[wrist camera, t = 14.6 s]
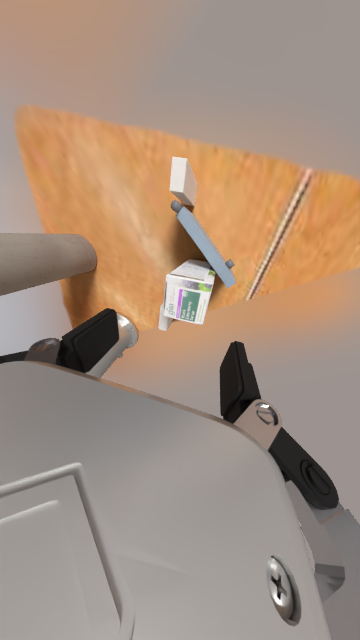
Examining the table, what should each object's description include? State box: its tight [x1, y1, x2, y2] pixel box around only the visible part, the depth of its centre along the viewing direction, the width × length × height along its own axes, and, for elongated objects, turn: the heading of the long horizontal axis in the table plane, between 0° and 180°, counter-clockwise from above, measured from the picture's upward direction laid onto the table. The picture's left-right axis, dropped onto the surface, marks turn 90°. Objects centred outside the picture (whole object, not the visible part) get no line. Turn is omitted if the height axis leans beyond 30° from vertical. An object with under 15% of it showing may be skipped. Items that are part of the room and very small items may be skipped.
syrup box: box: [163, 259, 216, 325], centre depth 23 cm, size 6×6×14 cm
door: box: [171, 200, 236, 288], centre depth 22 cm, size 13×2×9 cm, turn 42°
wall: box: [159, 157, 198, 331], centre depth 25 cm, size 23×2×9 cm, turn 172°
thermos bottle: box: [0, 233, 97, 296], centre depth 21 cm, size 8×8×28 cm
